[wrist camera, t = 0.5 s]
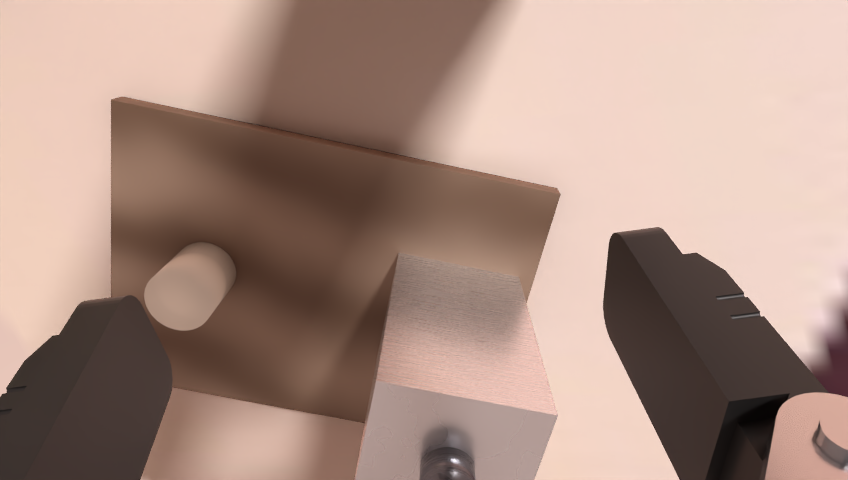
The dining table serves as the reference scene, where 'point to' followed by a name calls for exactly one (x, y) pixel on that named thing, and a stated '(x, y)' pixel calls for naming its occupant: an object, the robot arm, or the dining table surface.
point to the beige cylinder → (190, 286)
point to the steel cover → (456, 380)
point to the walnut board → (298, 245)
